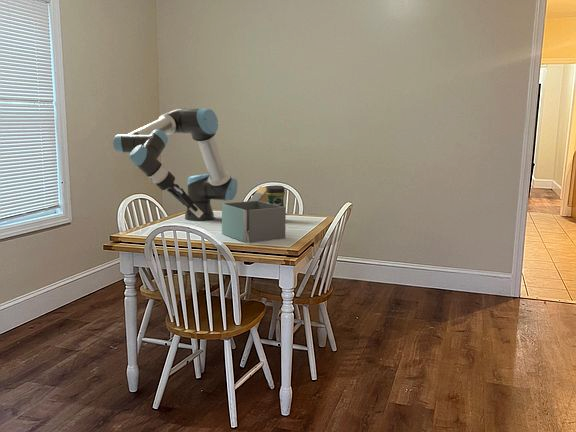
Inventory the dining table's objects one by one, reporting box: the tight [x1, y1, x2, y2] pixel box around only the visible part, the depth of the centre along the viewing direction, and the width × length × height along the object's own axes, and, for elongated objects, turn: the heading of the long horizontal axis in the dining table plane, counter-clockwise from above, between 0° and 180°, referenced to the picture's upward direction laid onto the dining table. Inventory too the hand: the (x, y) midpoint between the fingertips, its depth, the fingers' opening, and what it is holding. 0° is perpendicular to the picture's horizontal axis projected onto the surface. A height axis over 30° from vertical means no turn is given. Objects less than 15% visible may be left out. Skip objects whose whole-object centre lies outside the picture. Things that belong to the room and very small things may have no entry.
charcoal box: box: [223, 200, 287, 244], centre depth 248 cm, size 18×24×14 cm
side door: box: [221, 203, 248, 243], centre depth 242 cm, size 1×21×14 cm, turn 34°
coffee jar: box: [266, 184, 286, 207], centre depth 287 cm, size 10×8×19 cm
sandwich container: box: [248, 186, 267, 203], centre depth 308 cm, size 9×15×15 cm, turn 125°
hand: (200, 215), depth 234 cm, fingers closed
